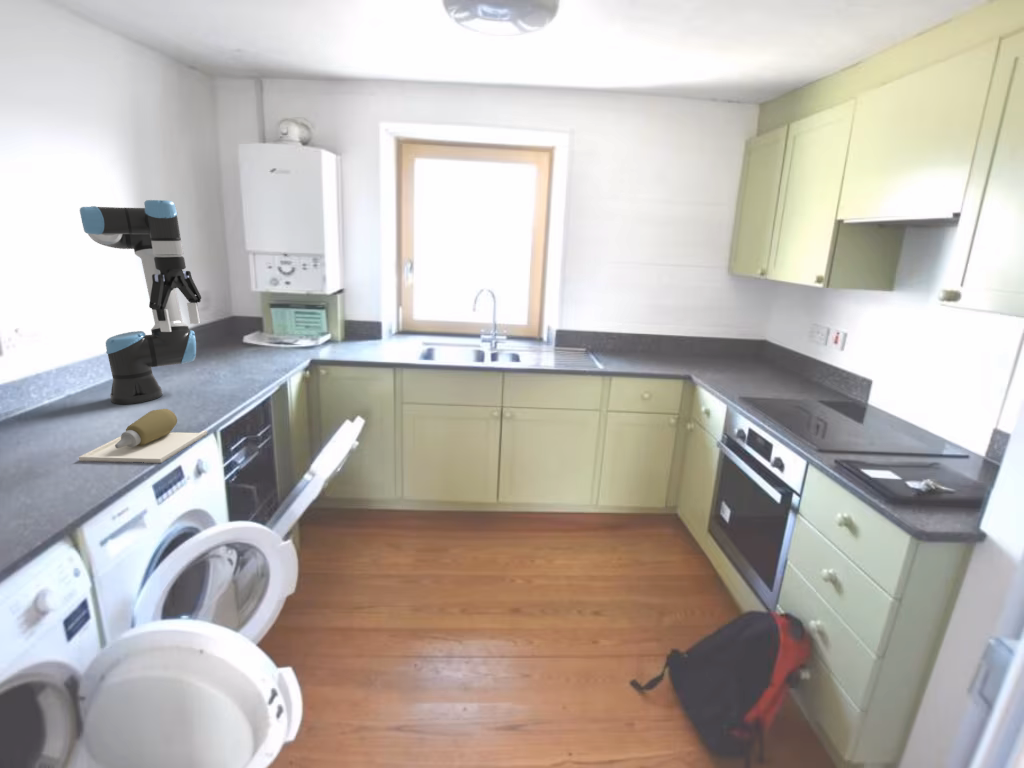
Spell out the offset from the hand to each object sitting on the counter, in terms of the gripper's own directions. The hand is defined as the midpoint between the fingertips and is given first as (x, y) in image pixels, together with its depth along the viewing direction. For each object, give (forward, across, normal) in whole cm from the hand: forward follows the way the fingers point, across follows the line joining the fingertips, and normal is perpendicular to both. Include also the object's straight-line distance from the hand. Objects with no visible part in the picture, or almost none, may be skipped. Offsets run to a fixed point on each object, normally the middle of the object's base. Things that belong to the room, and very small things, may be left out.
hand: (181, 327), depth 159 cm
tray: (+29, +23, 0) cm, 37 cm away
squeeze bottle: (+25, +12, 0) cm, 28 cm away
